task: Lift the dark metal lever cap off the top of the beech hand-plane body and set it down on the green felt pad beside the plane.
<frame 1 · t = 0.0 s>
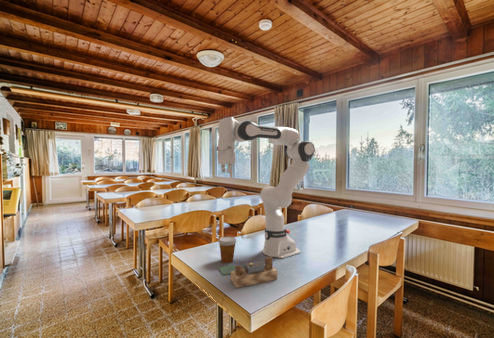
hand: (226, 172, 125), 48 cm above the table, fingers open, 8 cm apart
disposable coffee cup: (227, 261, 125), on the table
plane body: (254, 279, 105), on the table
lever cap: (254, 270, 105), point 4 cm above the table, touching plane body
felt pad: (228, 270, 114), on the table
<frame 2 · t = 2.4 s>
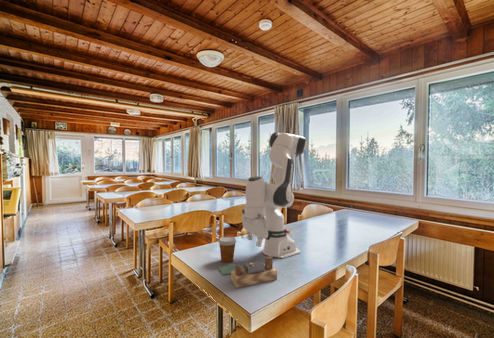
hand: (254, 243, 104), 17 cm above the table, fingers open, 8 cm apart
nothing on the table moved.
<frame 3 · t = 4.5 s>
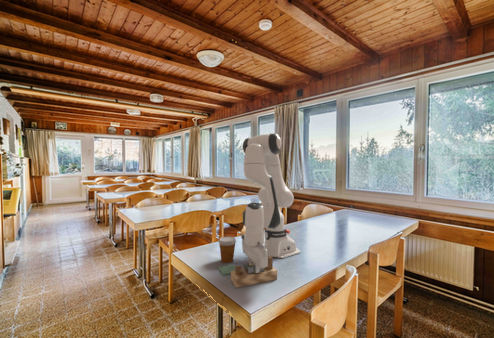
hand: (254, 269, 105), 5 cm above the table, fingers closed on lever cap, 4 cm apart
lever cap: (254, 270, 105), point 4 cm above the table, touching gripper, plane body
everything else where it was.
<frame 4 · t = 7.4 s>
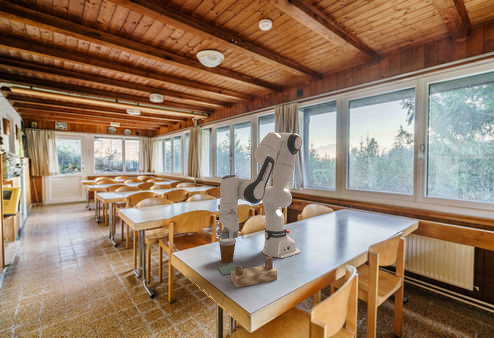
hand: (228, 235, 113), 17 cm above the table, fingers closed on lever cap, 4 cm apart
lever cap: (228, 237, 113), point 17 cm above the table, touching gripper
everything else where it was.
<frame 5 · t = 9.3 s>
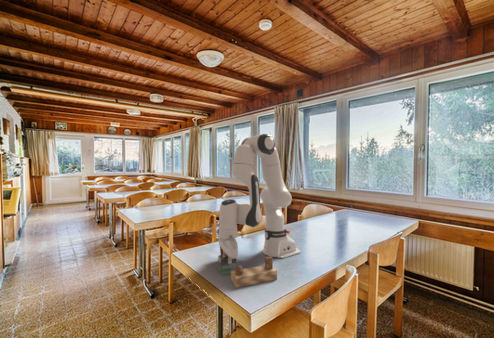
hand: (227, 261, 114), 5 cm above the table, fingers closed on lever cap, 4 cm apart
lever cap: (227, 262, 113), point 4 cm above the table, touching gripper
everything else where it was.
when the fingers open (3 cm above the table, at t = 10.6 s): lever cap drops 1 cm, resting on felt pad.
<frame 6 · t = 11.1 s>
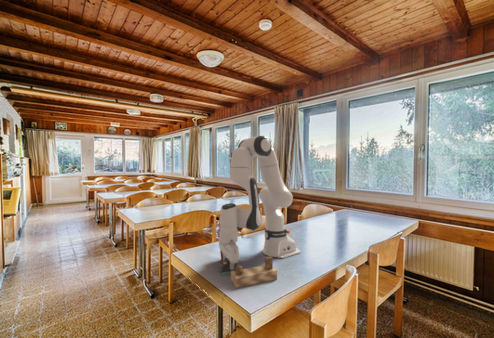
hand: (228, 265, 114), 3 cm above the table, fingers open, 8 cm apart
lever cap: (228, 269, 114), point 1 cm above the table, touching felt pad
everything else where it was.
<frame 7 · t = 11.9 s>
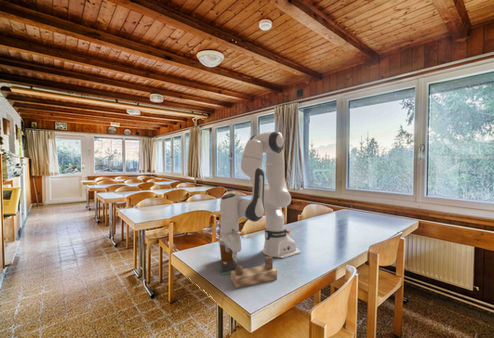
hand: (230, 254, 114), 8 cm above the table, fingers open, 8 cm apart
disposable coffee cup: (227, 261, 125), on the table, touching gripper
everything else where it was.
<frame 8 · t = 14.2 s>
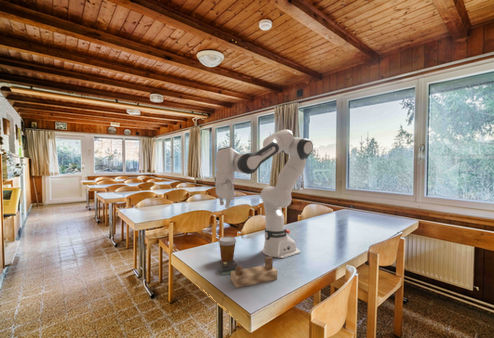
hand: (224, 206, 116), 31 cm above the table, fingers open, 8 cm apart
disposable coffee cup: (227, 261, 125), on the table
everything else where it was.
at the end: lever cap inside the target area on the felt pad (0.1 cm from its centre), point 0.6 cm above the felt pad's base; lever cap touching felt pad; the gripper is holding nothing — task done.
